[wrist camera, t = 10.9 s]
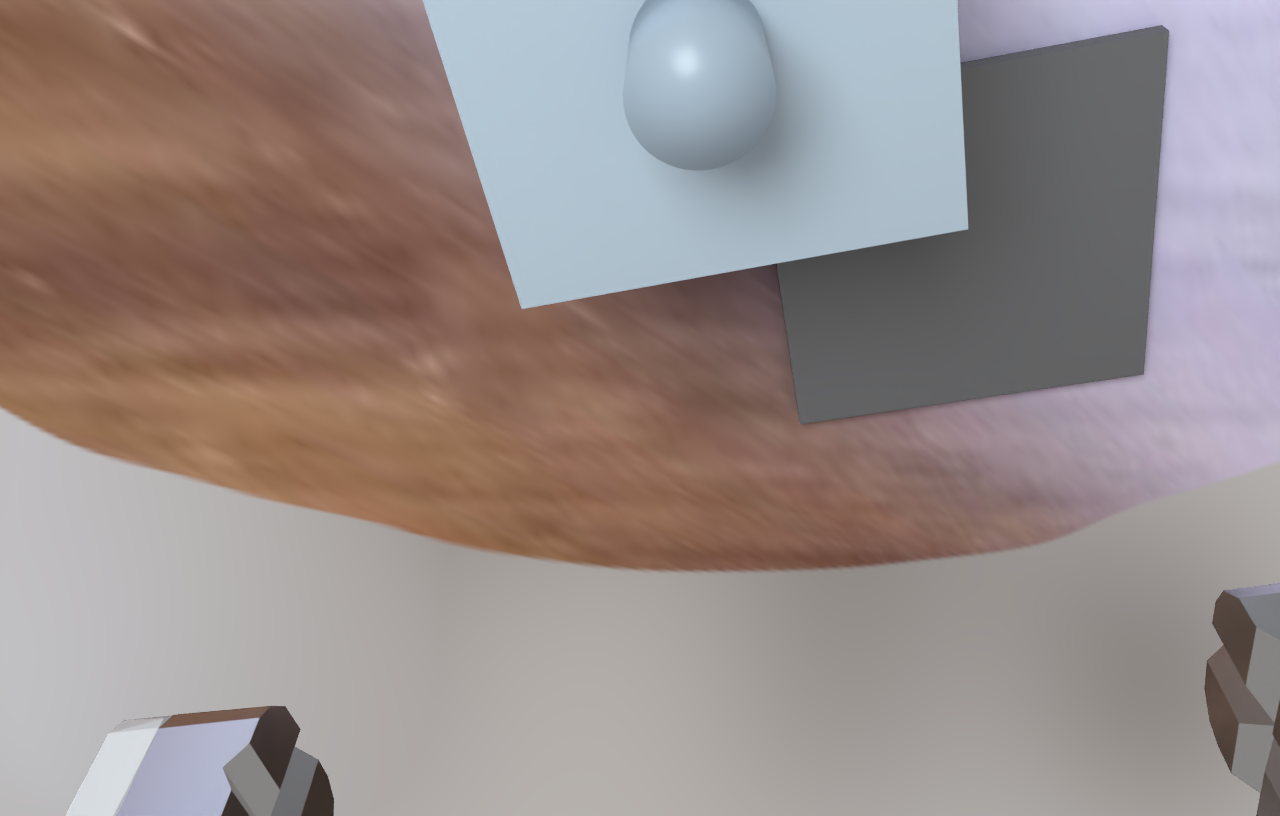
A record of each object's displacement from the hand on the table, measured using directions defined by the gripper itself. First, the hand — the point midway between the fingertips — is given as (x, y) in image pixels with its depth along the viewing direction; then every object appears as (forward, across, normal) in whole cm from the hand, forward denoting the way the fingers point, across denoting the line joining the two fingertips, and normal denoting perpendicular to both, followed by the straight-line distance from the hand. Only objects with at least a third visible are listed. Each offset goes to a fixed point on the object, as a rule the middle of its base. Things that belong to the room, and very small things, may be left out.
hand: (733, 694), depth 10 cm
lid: (+20, 0, 0) cm, 20 cm away
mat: (+29, -8, +12) cm, 32 cm away
